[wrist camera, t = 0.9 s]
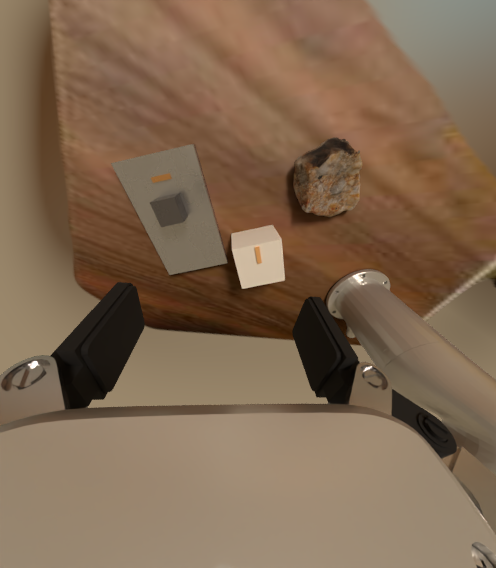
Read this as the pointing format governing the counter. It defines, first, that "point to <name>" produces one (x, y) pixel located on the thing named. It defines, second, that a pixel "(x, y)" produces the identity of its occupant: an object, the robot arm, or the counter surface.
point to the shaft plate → (197, 201)
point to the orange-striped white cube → (258, 256)
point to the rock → (328, 178)
